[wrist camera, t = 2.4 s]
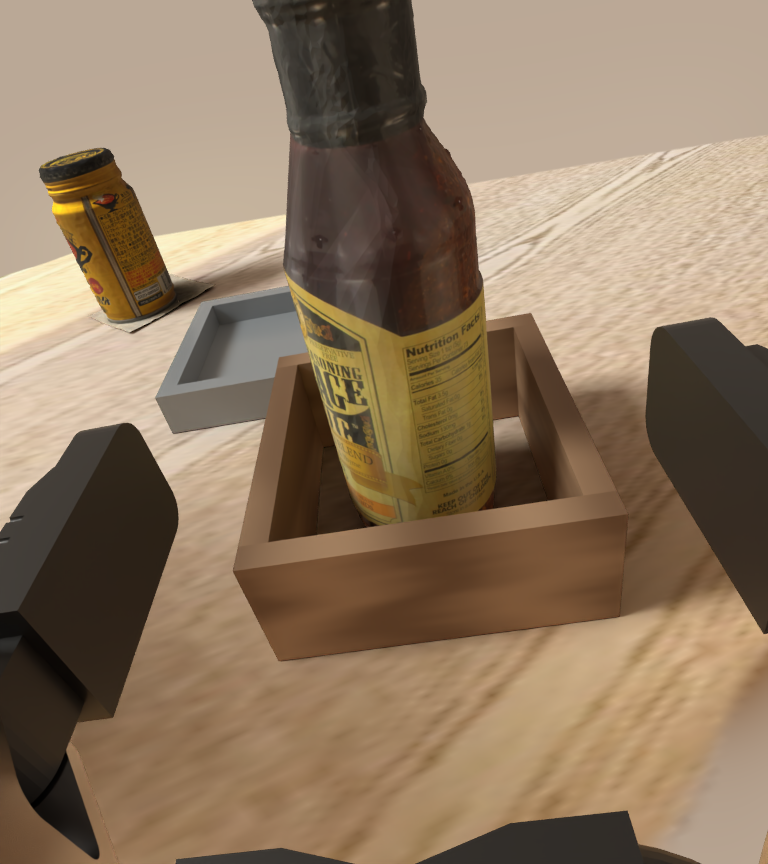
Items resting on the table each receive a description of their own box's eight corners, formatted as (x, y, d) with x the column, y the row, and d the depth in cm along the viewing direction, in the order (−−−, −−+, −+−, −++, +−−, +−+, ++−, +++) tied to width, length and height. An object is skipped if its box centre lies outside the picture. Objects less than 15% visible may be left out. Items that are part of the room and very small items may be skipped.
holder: (278, 661, 22) (232, 571, 19) (305, 438, 32) (279, 357, 29) (619, 616, 21) (628, 513, 18) (534, 401, 31) (531, 313, 28)
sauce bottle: (346, 481, 29) (192, -41, 17) (471, 444, 29) (406, -89, 17) (375, 587, 24) (182, -59, 12) (527, 541, 24) (488, -127, 12)
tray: (172, 433, 35) (155, 397, 33) (213, 333, 44) (201, 302, 43) (379, 399, 34) (370, 360, 32) (375, 303, 43) (368, 270, 42)
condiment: (88, 318, 52) (10, 170, 44) (171, 276, 56) (113, 135, 49) (130, 335, 47) (51, 174, 40) (217, 288, 52) (160, 135, 44)
